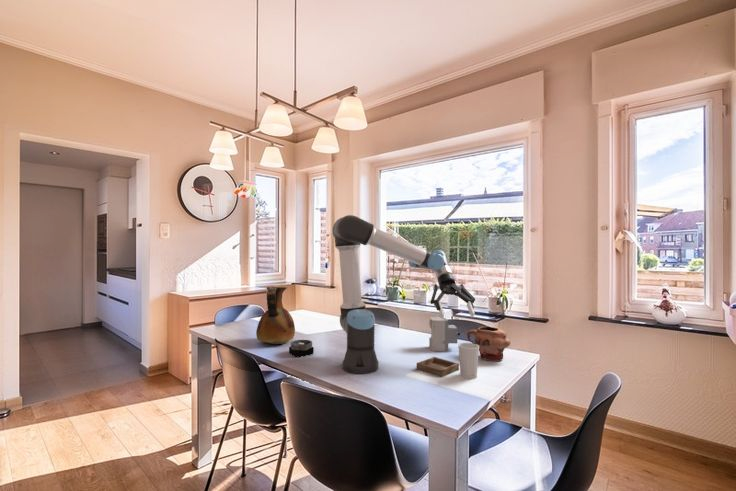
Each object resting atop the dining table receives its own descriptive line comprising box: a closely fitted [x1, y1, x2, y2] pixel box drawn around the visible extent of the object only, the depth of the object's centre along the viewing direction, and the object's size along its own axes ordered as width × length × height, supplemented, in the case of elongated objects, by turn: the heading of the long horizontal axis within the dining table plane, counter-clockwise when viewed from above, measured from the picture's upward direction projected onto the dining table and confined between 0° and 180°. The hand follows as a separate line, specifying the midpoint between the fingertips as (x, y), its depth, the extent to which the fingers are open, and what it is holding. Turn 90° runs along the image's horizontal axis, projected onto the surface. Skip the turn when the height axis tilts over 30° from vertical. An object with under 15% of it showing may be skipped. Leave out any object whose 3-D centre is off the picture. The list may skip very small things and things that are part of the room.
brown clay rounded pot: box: [466, 326, 511, 362], centre depth 160 cm, size 20×12×14 cm, turn 56°
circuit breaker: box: [428, 316, 461, 352], centre depth 175 cm, size 8×14×15 cm, turn 89°
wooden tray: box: [416, 356, 460, 378], centre depth 144 cm, size 12×12×3 cm
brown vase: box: [255, 285, 296, 345], centre depth 184 cm, size 20×20×30 cm
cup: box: [457, 342, 480, 380], centre depth 137 cm, size 8×8×12 cm
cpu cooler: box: [288, 339, 314, 358], centre depth 165 cm, size 10×6×10 cm
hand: (457, 315), depth 148 cm, fingers open, 13 cm apart
